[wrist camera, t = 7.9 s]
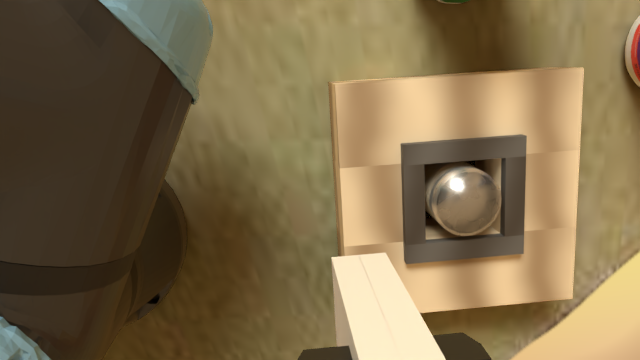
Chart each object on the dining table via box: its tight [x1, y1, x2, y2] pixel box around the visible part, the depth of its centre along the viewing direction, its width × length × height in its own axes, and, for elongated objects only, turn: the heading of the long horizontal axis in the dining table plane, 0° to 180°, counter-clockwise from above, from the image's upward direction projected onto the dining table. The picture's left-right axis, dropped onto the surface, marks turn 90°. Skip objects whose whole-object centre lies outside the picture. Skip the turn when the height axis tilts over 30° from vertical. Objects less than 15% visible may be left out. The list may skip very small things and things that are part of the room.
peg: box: [424, 161, 501, 236], centre depth 40 cm, size 5×5×6 cm
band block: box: [328, 67, 584, 313], centre depth 41 cm, size 18×18×6 cm
